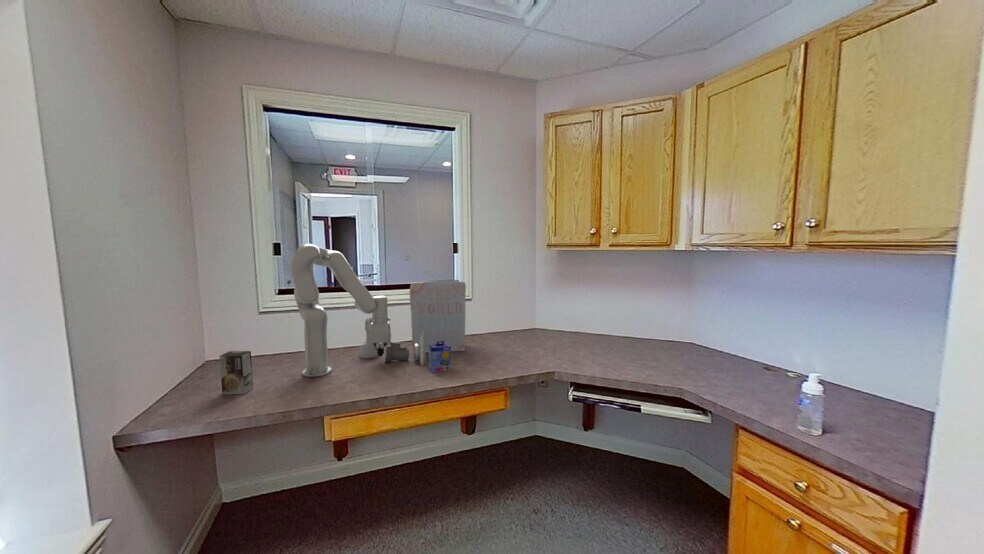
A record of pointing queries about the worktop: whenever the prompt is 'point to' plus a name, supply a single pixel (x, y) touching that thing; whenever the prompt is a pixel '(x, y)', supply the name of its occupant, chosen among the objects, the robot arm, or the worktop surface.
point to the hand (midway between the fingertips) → (380, 355)
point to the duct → (420, 349)
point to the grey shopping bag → (438, 313)
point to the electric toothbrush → (368, 349)
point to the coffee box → (236, 372)
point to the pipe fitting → (396, 352)
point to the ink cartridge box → (439, 357)
